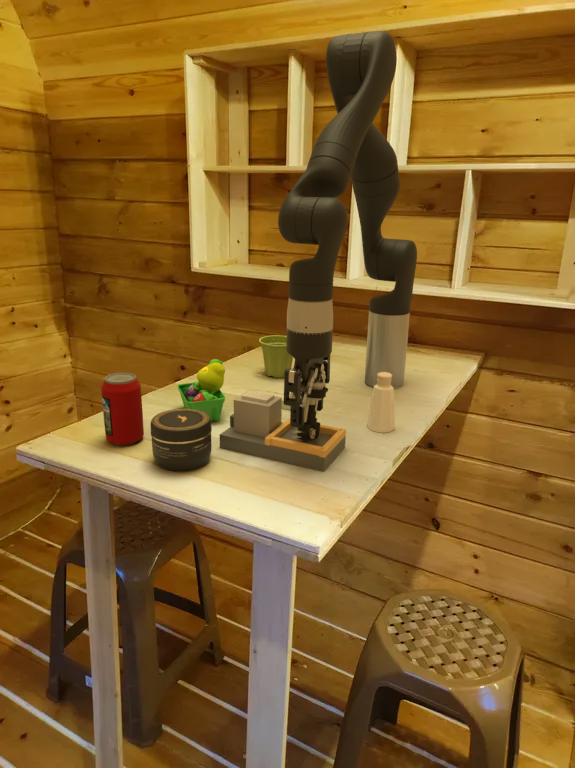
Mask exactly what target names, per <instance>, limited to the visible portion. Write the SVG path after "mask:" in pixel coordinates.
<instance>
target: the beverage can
mask: <svg viewBox="0 0 575 768" xmlns="http://www.w3.org/2000/svg"><path fill="white" fill-rule="evenodd" d="M100 388H101V389H100V390H101V391H100V392H101V401H102V402H101V403H102V411H103V412H102V414H103V423H104V432H105V433H104V434H105V439H106V440H107V442H110V443H112V444H114V445H116V446H128V445H132V444H134V443H135V444H136V443H137V442H138V441H140V440H141V439H142V438H144V435H145V431H144V415H143V414H144V413H143V400H142V398H143V397H142V388H141V383H140V382H139V379H138V378H137V376H136V374H134V373H131V372H114V373H110V374H108V375H106V376H105V377H104V381H103V383H102V385H101V387H100Z"/></svg>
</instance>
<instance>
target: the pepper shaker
mask: <svg viewBox="0 0 575 768" xmlns="http://www.w3.org/2000/svg"><path fill="white" fill-rule="evenodd" d="M377 377H378V378H377V385H375V386H374V387H373V389H372V396H371V399H370V406H369V411H368V416H367V421H366V426H367V428H368V429H369V430H370V431H371V432H372V431H373V432H374V433H379V434H380V433H383V434H384V433H390V432H392V431H393V430H395V429H396V428H395V427H396V424H395V423H396V422H395V388H393V387H392V385H391V378H392V374H390V373H388V372H380V373H378V374H377Z"/></svg>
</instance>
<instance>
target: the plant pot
mask: <svg viewBox="0 0 575 768" xmlns="http://www.w3.org/2000/svg"><path fill="white" fill-rule="evenodd" d="M258 342H259V344H260V348H261V350H262V355H263V356H262V357H263V362H264V363H263V364H264V371H265V375H266V376H267V377H273V378H276V379H278V378H279V379H280V378H281V379H282V378H284V374H285V370H286V369H290V370H292V366H293V361H294V357H293V356H291V355H289V354H288V353H287V350H286V343H287V335H272V334H271V335H265V336H262V337H260V338H259V339H258Z"/></svg>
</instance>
